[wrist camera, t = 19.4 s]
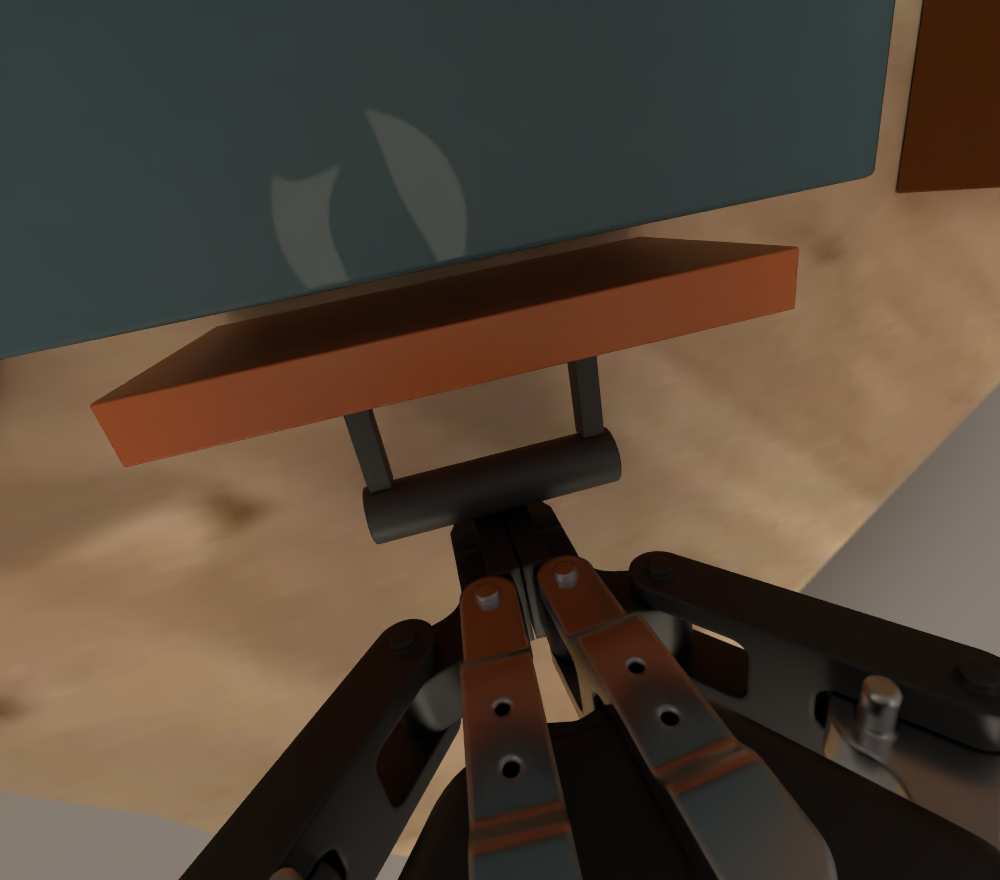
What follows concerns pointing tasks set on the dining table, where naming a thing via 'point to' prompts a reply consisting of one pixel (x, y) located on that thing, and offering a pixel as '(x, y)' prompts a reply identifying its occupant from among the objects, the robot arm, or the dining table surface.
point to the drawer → (448, 366)
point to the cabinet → (390, 138)
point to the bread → (954, 99)
